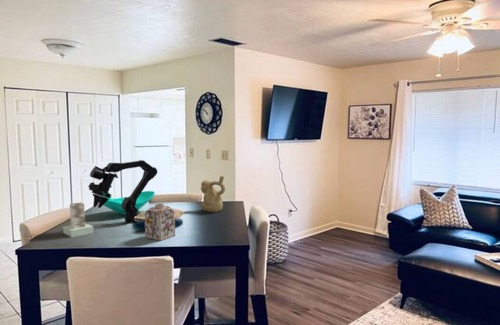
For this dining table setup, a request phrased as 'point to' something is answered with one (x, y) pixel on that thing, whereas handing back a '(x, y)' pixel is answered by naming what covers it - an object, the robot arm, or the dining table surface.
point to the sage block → (78, 230)
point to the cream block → (77, 215)
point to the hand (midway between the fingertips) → (96, 207)
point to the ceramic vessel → (212, 195)
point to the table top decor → (116, 203)
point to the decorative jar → (159, 222)
